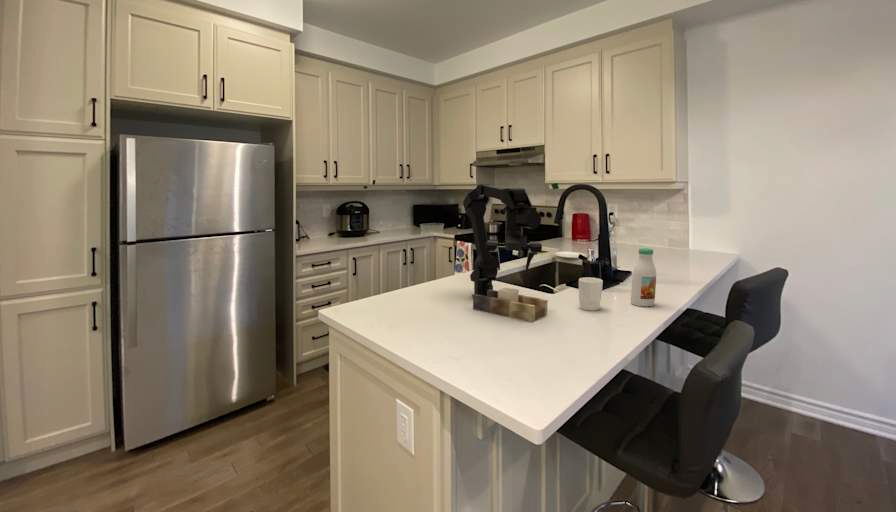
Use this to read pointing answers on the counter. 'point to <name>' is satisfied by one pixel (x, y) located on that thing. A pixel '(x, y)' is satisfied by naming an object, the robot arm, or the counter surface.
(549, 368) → the counter surface
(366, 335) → the counter surface
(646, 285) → the milk bottle
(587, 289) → the white cup
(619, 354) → the counter surface
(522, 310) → the channel
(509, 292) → the cream block
